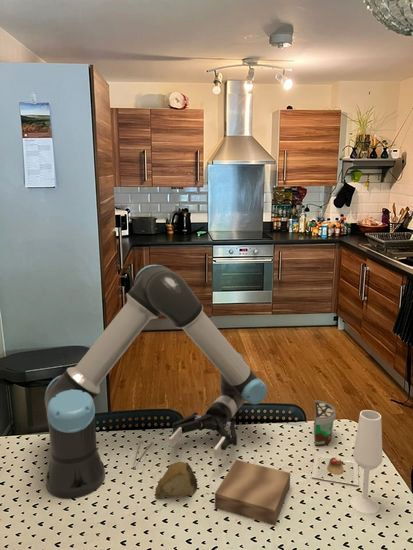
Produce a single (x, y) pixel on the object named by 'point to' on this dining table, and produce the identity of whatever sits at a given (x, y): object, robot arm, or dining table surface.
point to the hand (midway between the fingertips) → (192, 448)
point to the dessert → (335, 466)
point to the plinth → (253, 491)
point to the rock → (177, 481)
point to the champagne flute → (367, 456)
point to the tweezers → (143, 452)
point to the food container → (323, 423)
